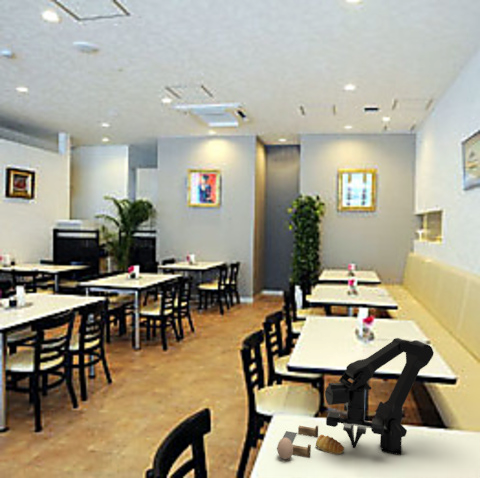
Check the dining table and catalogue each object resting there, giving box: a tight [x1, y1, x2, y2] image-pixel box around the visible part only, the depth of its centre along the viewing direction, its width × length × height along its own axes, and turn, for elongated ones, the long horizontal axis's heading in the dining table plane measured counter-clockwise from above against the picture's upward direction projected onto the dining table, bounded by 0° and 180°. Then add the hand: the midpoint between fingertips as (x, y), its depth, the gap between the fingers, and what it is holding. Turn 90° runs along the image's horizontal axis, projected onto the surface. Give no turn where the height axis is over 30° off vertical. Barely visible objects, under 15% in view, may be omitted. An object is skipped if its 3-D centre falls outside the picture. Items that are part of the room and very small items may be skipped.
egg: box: [276, 437, 294, 460], centre depth 151 cm, size 5×5×7 cm
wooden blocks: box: [292, 425, 319, 458], centre depth 161 cm, size 7×17×4 cm, turn 161°
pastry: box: [315, 434, 345, 455], centre depth 158 cm, size 9×7×4 cm
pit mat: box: [282, 430, 298, 444], centre depth 163 cm, size 4×14×1 cm, turn 161°
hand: (354, 447), depth 155 cm, fingers closed
